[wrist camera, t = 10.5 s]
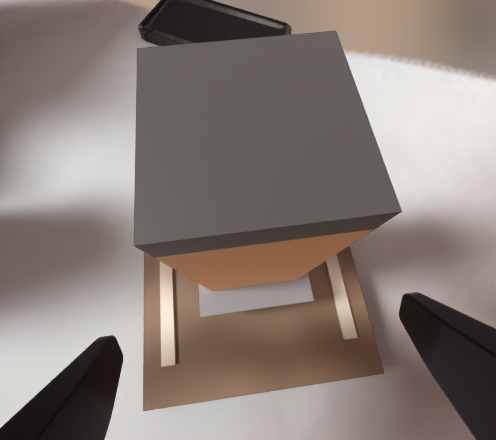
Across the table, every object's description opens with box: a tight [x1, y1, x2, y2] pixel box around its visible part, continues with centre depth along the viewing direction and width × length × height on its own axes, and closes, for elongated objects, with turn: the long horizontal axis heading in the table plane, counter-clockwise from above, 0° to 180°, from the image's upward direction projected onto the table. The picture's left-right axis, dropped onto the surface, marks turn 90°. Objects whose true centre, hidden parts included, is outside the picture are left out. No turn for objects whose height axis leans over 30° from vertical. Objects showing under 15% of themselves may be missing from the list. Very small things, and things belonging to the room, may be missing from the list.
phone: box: [138, 0, 291, 46], centre depth 27 cm, size 8×1×15 cm
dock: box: [143, 246, 384, 411], centre depth 18 cm, size 16×14×2 cm
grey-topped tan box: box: [134, 31, 402, 317], centre depth 11 cm, size 7×6×13 cm
